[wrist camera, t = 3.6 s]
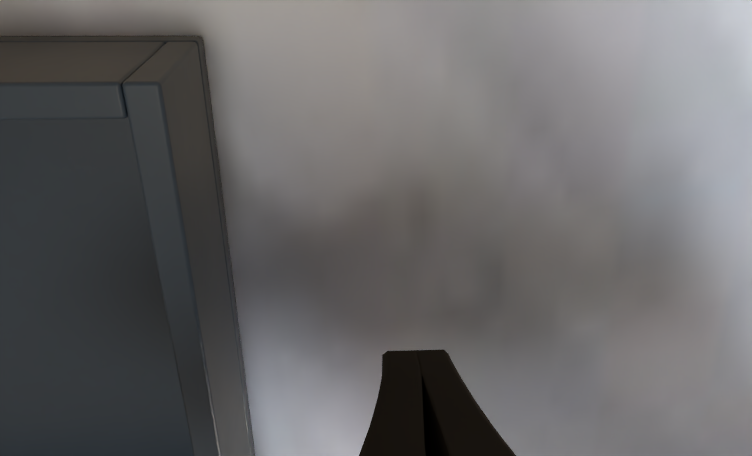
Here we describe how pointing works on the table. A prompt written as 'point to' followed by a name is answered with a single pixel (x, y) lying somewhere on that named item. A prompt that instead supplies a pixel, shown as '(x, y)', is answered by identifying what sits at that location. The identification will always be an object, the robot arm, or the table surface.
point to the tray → (114, 254)
